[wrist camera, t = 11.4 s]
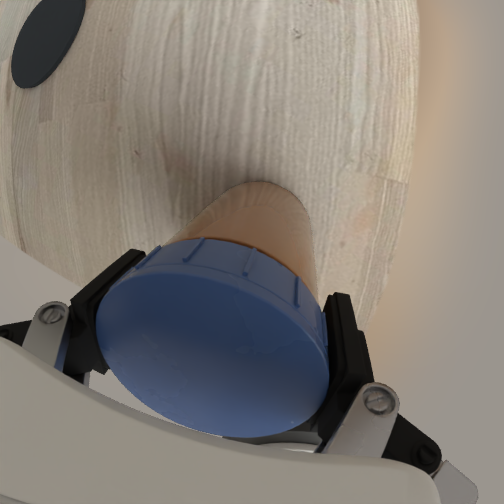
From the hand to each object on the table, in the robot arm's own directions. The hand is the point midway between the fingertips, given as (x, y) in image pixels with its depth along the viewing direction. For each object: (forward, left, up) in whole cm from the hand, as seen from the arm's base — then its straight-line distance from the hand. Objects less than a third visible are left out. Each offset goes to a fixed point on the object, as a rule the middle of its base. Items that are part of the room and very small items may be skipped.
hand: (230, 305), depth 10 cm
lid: (0, 0, +3) cm, 3 cm away
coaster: (+16, +22, -8) cm, 28 cm away
